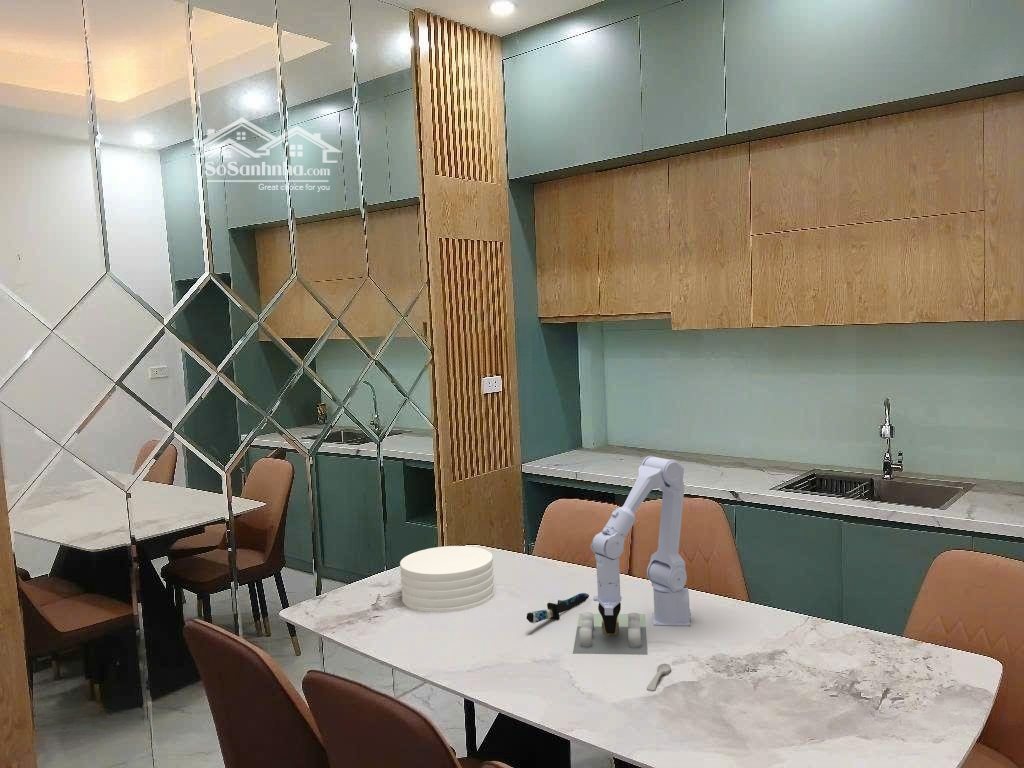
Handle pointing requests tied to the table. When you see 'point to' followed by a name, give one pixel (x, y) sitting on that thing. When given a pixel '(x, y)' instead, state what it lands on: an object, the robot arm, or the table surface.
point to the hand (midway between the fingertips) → (610, 632)
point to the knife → (556, 608)
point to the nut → (609, 633)
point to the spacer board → (623, 643)
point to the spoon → (658, 676)
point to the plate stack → (447, 579)
